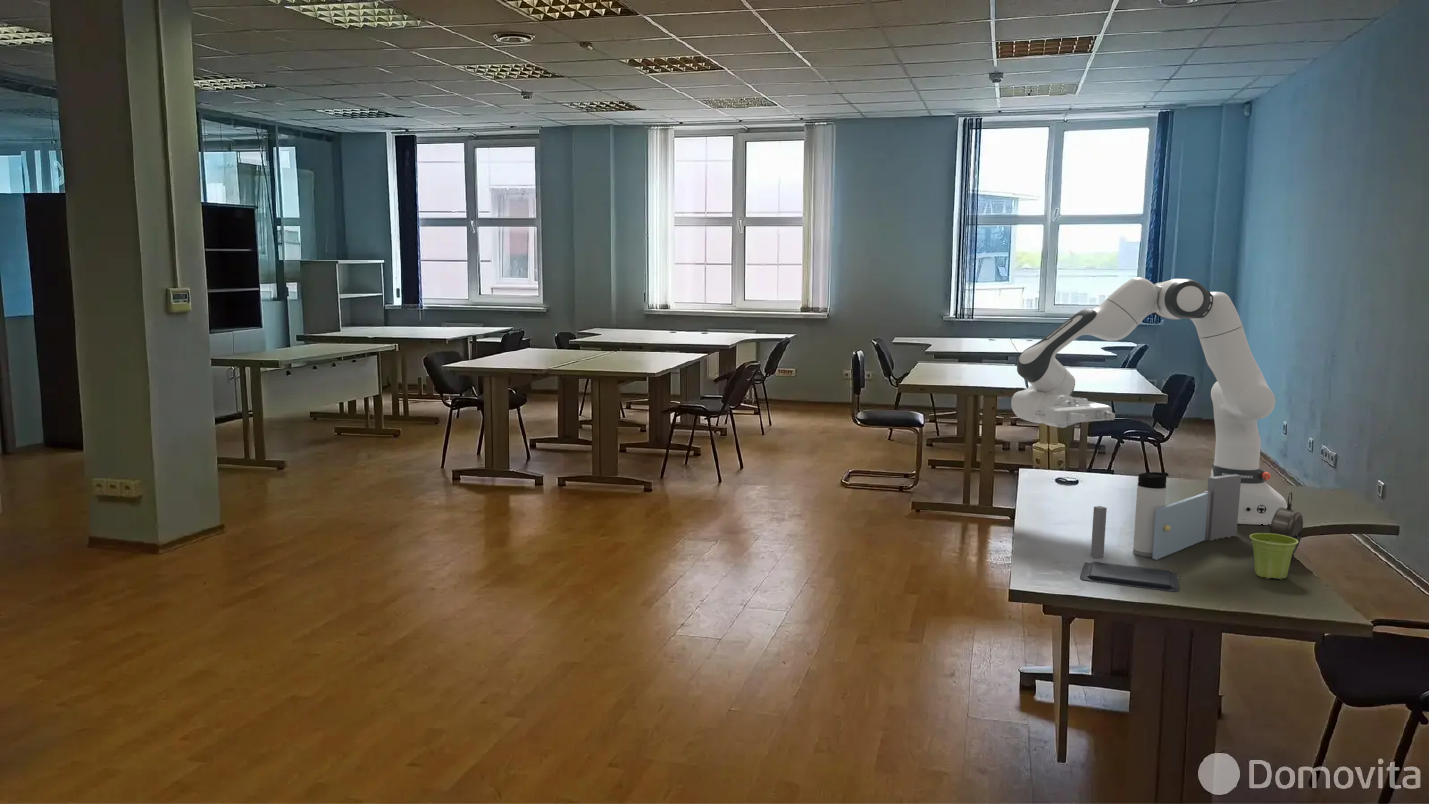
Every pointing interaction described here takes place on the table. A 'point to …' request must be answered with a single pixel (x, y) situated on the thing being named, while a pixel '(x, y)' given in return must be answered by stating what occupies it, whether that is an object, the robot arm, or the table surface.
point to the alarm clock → (1288, 523)
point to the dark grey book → (1130, 576)
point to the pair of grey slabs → (1220, 515)
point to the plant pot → (1272, 554)
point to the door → (1181, 524)
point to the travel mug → (1148, 510)
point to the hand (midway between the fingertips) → (1099, 417)
